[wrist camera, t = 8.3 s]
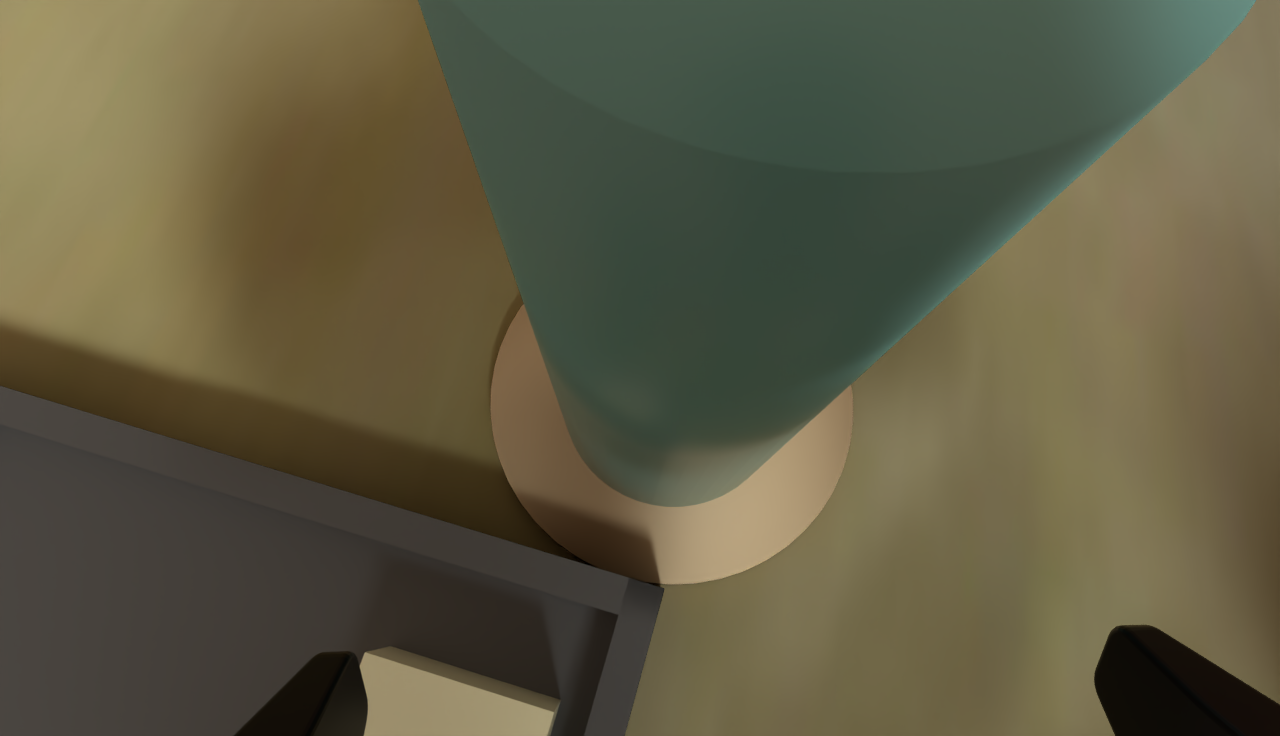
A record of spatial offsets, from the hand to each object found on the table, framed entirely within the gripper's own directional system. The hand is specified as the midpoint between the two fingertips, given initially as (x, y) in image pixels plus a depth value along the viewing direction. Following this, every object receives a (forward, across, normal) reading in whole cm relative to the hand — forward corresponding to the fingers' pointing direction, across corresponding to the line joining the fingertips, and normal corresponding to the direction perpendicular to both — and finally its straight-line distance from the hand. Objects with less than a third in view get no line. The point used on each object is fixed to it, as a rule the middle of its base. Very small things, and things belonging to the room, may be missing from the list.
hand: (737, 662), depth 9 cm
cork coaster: (+10, 0, +2) cm, 11 cm away
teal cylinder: (+10, 0, +2) cm, 10 cm away
